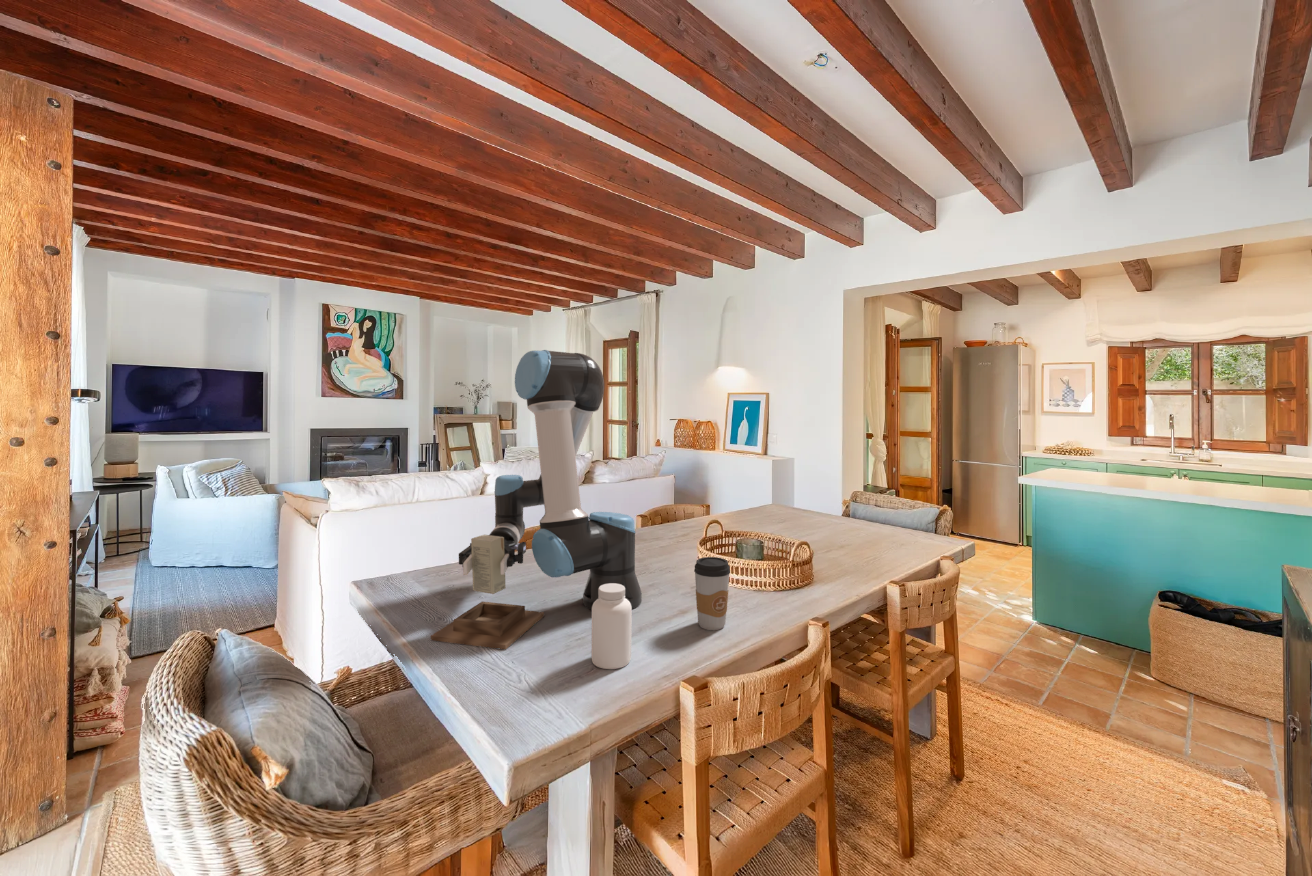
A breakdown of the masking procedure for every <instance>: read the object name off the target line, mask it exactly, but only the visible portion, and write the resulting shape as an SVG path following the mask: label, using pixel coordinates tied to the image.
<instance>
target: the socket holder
mask: <svg viewBox="0 0 1312 876" xmlns="http://www.w3.org/2000/svg"><path fill="white" fill-rule="evenodd" d="M544 617H545V611H537V610H526V606H525V605H521V604H519V605H518V604H509V603H501V602H500V603H499V602H491V601H480V602H479V603H477V604H475V605H474V606H473V607H471V608H469V609H468V610H467V611H465V612H464V613H462V614H460V615H459V616H457V617H456V618H454V619H453V620H452V621H451V622H450V623H448V624H446V625H445V626H444V627H442V628H441V629H439V630H438V631H435V632H434V633H433V634H431V635H430V640H431V641H432V642H433V641H434V642H441V643H450V644H458V645H459V644H460V645H466V646H474V647H480V646H481V647H480V648H488V647H489V649H490V648H491V649H496V648H500V649H499V650H504V649H505V650H507V649H508V648H509V647H510V646H511V644H512V645H513V644H514V643H515V642H516V641H517V640H519V639H520V638H521V637H523V635H524V634H525V633H527V632H528V631H529V630H530V629H532V627H533V626H534V624H535V625H536V624H537V623H538V622H539V621H540V620H542V619H543V618H544ZM526 631H527V632H526Z"/></svg>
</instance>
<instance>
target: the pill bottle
mask: <svg viewBox="0 0 1312 876" xmlns="http://www.w3.org/2000/svg"><path fill="white" fill-rule="evenodd" d="M598 595H599V596H598V597H599V599H597V600H596V601H595V602H594V603H593V606H592V610H591V651H590V652H591V662H592V663H593V665H594V666H596V667H597V668H600V669H604V670H615V669H616V670H617V669H621V668H624V667H626V666H627V665H628V664H630V662H631V659H632V626H633V624H632V616H633V615H632V613H633V612H632V610H633V609H632V607H631V604H630V602H629V601H628V600H627V599H626V598H625V587H624V586H623V585H621V584H616V583H609V584H604V585H601V586H600V587H599V589H598Z"/></svg>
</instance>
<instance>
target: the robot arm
mask: <svg viewBox="0 0 1312 876" xmlns="http://www.w3.org/2000/svg"><path fill="white" fill-rule="evenodd" d="M514 387H515V391H516V393H517V396H518V397H519V398H521V399H523V400H526V405H527V410H529V411H530V412H531V413H533V414H534V421H535V429H536V439H537V441H536V442H537V447H538V456H539V457H538V459H539V466H540V474H539V477H538V478H537V479H531V480H524V478H523V476H522V475H519V474H503V475H499V476H497V477H496V478H495V482H494V494H493V495H494V505H495V506H494V508H495V516H494V520H495V521H494V526H495V527H494V528H493V529H492V531H491V532H490V533H489V534H488V535H492V536H500V537H504V553H505V556H504V558H503V559H502V561H501V575H504V574H505V575H506V572H507V570H508V568H509V567H511V568H512V567H513V566H514V565H515V563H517V564H523V563H524V554H525V553H526V552H527V542H526V541H522V542H520V541H521V540H522V538H523V537H524V534H525V530H526V524H525V522H524V508H529V507H536V506H544V515H543V516H542V517H541V519H540V520H539V529H537V531H535V532H534V534H533V536H532V540H531V550H532V554H533V558H534V561H535V562H536V564H537V565H538V567H539V569H540V570H541V571H542V573H543V574H545V575H546V576H548V577H551V578H561V577H569V576H571V575H573V574H577V573H581V572H584V571H589V575H588V577H587V579H586V580H587V581H586V584H585V587H584V591H583V593H582V598H583V599H582V601H583V602H582V603H583V604H582V605H583V606H584V607H585V608H587V609H589V610H591V611H592V606H593V603H594V602H595V601H596V600H597V599H599V597H598V596H599V595H598V589H599V587H600V586H601V585H604V584H609V583H616V584H621V585H623V586H624V587H625V598H626V599H627V600H628V601H629V602H630V604H631V607H632V610H634V609H635V608H637V607H639V606H640V605H641V604H642V598H643V597H642V596H643V595H642V590H641V586H640V583H639V581H638V577H637V575H636V566H635V565H636V553H635V552H636V533H637V532H636V530H635V529H636V527H635V519H634V518H633V517H632V516H631V515H629V514H624V513H619V512H611V511H609V512H608V511H592V512H591V513H590V514H588V513H587V512H586V511H584V510H583V509H582V506H581V504H582V503H581V496H580V495H581V494H580V486H579V478H578V477H579V476H578V468H577V460H576V456H577V454H578V451H579V449H580V446H581V444H582V441H583V439H584V436H585V434H586V431H587V429H588V426H589V424H590V421H591V418H592V416H593V413H595V412H598V410H599V409H600V407H601V404H602V402H603V399H604V393H605V380H604V374H603V372H602V370H601V368H600V365H598V363H597V362H596V361H595V360H594V359H593V358H592V357H590V356H589V355H587V354H583V353H579V352H567V351H566V352H564V351H555V350H547V349H543V350H530V351H527V352H526V353H525V354H523V355H522V357H521V358H520V359H519V361H518V364H517V366H516V369H515V373H514ZM515 551H517V553H516V552H515ZM515 553H516V554H515ZM458 565H461V566H462V568H463V569H462V570H463V573H462V574H463V576H468V575H469V573H470V572H472V571H471V570H472V546H471V542H470V543H469V545H468V546H467V547H466V548H464V549H463V550H462V551H461V552H459V553H458Z"/></svg>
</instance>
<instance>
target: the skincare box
mask: <svg viewBox="0 0 1312 876" xmlns="http://www.w3.org/2000/svg"><path fill="white" fill-rule="evenodd" d="M470 541H471V542H470V543H471V546H472V569H471V570H472V571H471V572H472V573H471V574H472V591H474V592H480V593H485V594H492V595H495V594H497V593H498V592H501V591H503V590H505V589H506V573H505V574H504V575H501V561H502V559H503V558H504V556H505V553H504V537H500V536H492V535H489V534H482V535H479V536H475V537H472V538H470Z"/></svg>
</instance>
